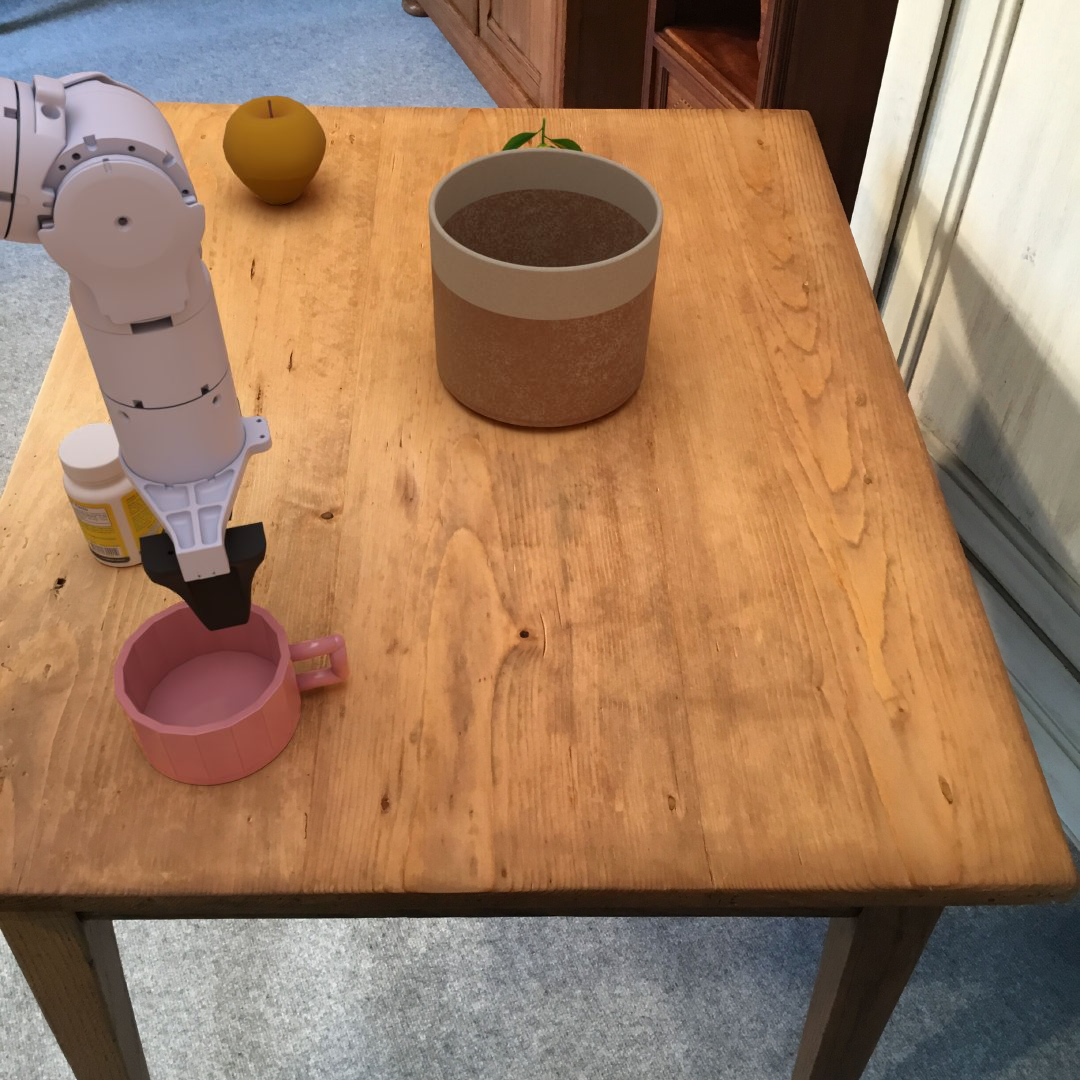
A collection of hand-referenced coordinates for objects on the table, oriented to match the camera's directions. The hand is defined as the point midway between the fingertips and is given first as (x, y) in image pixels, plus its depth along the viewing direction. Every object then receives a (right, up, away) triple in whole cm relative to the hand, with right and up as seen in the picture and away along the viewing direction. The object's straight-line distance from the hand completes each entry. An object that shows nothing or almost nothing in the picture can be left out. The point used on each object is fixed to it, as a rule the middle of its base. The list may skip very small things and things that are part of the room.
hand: (219, 569), depth 59 cm
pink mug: (+1, -8, +3) cm, 8 cm away
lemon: (+17, +29, +38) cm, 51 cm away
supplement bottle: (-9, +1, +11) cm, 15 cm away
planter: (+17, +15, +25) cm, 34 cm away
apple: (-6, +33, +41) cm, 53 cm away
